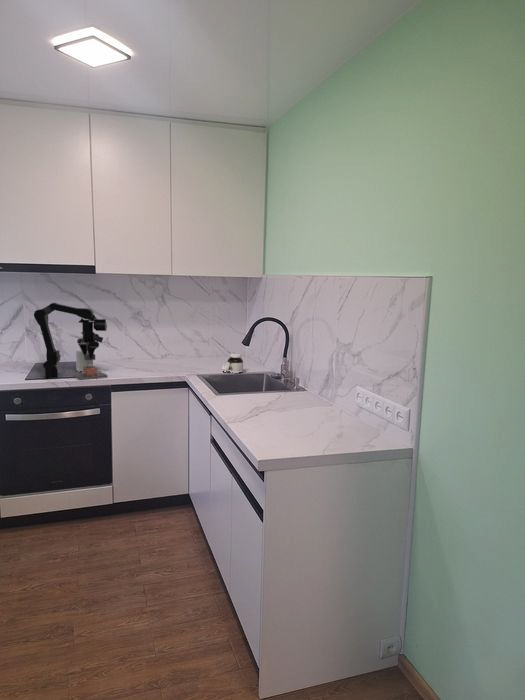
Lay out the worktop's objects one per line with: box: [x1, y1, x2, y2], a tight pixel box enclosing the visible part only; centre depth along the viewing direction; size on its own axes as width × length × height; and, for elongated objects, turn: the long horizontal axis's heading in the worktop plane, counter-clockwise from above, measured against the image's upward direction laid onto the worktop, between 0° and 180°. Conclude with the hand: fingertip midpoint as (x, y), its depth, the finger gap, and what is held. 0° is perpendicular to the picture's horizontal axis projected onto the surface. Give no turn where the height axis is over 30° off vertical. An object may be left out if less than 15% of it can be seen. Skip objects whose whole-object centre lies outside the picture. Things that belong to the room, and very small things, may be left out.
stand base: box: [72, 365, 108, 381], centre depth 280 cm, size 16×12×6 cm
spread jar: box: [221, 353, 244, 372], centre depth 308 cm, size 12×11×12 cm
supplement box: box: [75, 349, 88, 373], centre depth 298 cm, size 7×7×13 cm
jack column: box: [84, 353, 96, 368], centre depth 280 cm, size 5×4×8 cm
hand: (88, 357), depth 279 cm, fingers open, 9 cm apart
